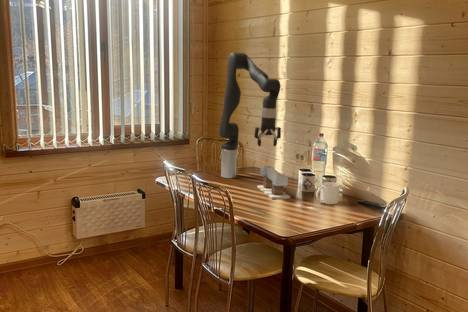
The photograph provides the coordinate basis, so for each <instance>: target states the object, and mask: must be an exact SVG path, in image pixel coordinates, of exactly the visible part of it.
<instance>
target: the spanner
mask: <svg viewBox="0 0 468 312" xmlns="http://www.w3.org/2000/svg"><path fill="white" fill-rule="evenodd" d="M259 173H260V176H261V177H263V178H264V177H267V178H269V179H270V180H272V181H273V184H274V185H275V186H283V187H284V186H285V187H286V186H288V182H289V181H288V180H289V175H287V174H286V173H281V172H279V171H278V170H276V169H275V167H274V166H273V165H260V172H259Z"/></svg>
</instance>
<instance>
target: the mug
mask: <svg viewBox="0 0 468 312" xmlns="http://www.w3.org/2000/svg"><path fill="white" fill-rule="evenodd" d="M319 193H320V194H319ZM339 194H340V184H339V183H338V182H333V181H325V182H324V181H323V182H321V183H320V187H318V189H317V191H316V193H315V197H316V198H317V200H318V201H320V203H321V202H322V204H324V203H325V205H338V203H339ZM319 195H320V196H319Z"/></svg>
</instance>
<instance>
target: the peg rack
mask: <svg viewBox="0 0 468 312" xmlns="http://www.w3.org/2000/svg"><path fill="white" fill-rule="evenodd" d="M256 187H257V188H258V189H259V190H260V191H262V193H264V194H265V195H266V196H267V197H268V198H270V199H271V200H284V199H285V200H288V199H289V200H290V199H291V196H290V195H288V194H287V193H286V192H284V186H275V185H274V184H273V181H272V180H270V179H269V178H267V177H263V184H257V185H256Z"/></svg>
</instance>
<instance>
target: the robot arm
mask: <svg viewBox="0 0 468 312" xmlns="http://www.w3.org/2000/svg"><path fill="white" fill-rule="evenodd" d="M226 68H227V69H226V71H227V72H226V73H227V74H226V85H225V90H224V97H223V98H224V99H223V108H222V114H221V119H220V123H219V127H218V128H219V129H218V133H219V136H220V138H221V139H228V140H227V141H226V142H223V143H222V144H221V158H220V159H221V164H220V165H221V167H220V168H221V169H220V177H222V178H225V179H234V178H237V155H238V154H237V153H238V150H237V148H238V144H239V126H238V124H237V123H236V122H230V121H231V120H230V119H231V117H232V116H233V113H234V112H235V111H236V109H238V107H239V104H240V101H241V95H242V91H241V88H240V85H239V83H238V80H237V70H245V71H247V72H248V74H249V77H250V79H251V80H252V81H254V83H256V84H257V85H258V87H259V88H260V90H261V91H263V92H264V93H269V94H268V95H267V96H265V97H264V98H263V100H262V109H261V121H260V122H261V123H260V125H261V126H260V127H258V126H255V127H254V138H255V139H256V140H257V143H256V144H257V146H258V147H261V146H262V138H263V137H264V136H272V138H273V141H272V142H273V143H272V144H273V147H276V146H277V145H278V139H281V138H282V137H281V136H282V133H281V132H282V129H281V127H279V126H277V127H276V120H277V119H276V118H277V100H278V97H279V94H280V90H281V82H280V80H279V79H277V78H269V76H268V74H267V73H266V72H264V70H262V69H261V68H259V67H258V66H257V65H256V63H254V61H253V60H252V59H251V58H250V56H248V55H247V54H246V53H244V52H231V53H229V55H228V57H227V67H226ZM259 132H260V133H259ZM275 132H276V133H275Z"/></svg>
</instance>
